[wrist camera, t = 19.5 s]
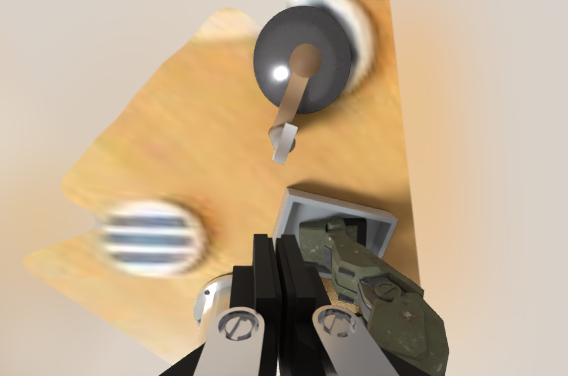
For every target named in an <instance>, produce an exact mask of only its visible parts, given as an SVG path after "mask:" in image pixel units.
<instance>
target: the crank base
mask: <svg viewBox="0 0 568 376" xmlns="http://www.w3.org/2000/svg"><path fill="white" fill-rule="evenodd" d="M306 43H307V44H312V45H314V46H315V47H316V48H317V49H318V50H319V52H320V54H321V57H322V63H321V67H320V69H319V71H318V72H317V73H316V74H315V75H314V76H312V77H309V79H308V82H307V85H306V87H305V90H304V93H303V95H302V98H301V101H300V103H299V106H298V109H297V111H296V114H308V113H313V112H316V111H319V110H321V109H323V108H325V107H326V106H328V105H329V104H331V103H332V102H333V101H334V100H335V99H336V98H337V97H338V96H339V94H340V93H341V91H342V90H343V88H344V86H345V84H346V82H347V79H348V77H349V73H350V67H351V51H350V46H349V42H348V39H347V37H346V35H345V33H344V31H343V29H342V28H341V26H340V25H339V23H338V22H337V21H336V20H335V19H334V18H333V17H332V16H330V15H329V14H327V13H326V12H324V11H322V10H320V9H318V8H314V7H309V6H296V7H291V8H288V9H285V10H283V11H281V12H279V13H278V14H277V15H275V16H274V17H273V18H272V19H271V20H270V21H268V23H267V24H266V25H265V26H264V28H263V29H262V31H261V33H260V35H259V37H258V39H257V42H256V45H255V50H254V61H253V64H254V72H255V77H256V80H257V83H258V85H259V87H260V89H261V91H262V92H263V94H264V95H265V96H266V97H267V99H268V100H269V101H270V102H272V103H273V104H274V105H276V106H277V107H280V104H281V101H282V98H283V96H284V93H285V90H286V87H287V84H288V81H289V79H290V76H291V73H292V72H291V70H290V67H289V58H290V55H291V53H292V52H293V51H294V50H295V48H296V47H298V46H299V45H301V44H306Z"/></svg>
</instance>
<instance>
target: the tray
mask: <svg viewBox="0 0 568 376" xmlns="http://www.w3.org/2000/svg"><path fill="white" fill-rule="evenodd" d="M331 216H339V217H340V218H365V219H366V221H367V237H366V248H367V249H368V250H370V251H371V252H372V253H373V254H375V255H376V256H378V257H379V258H380V259H382V257H383V255H384V252H385V250H386V248H387V246H388V243H389V241H390V239H391V236H392V234H393V232H394V229H395V227H396V225H397V222H398V219H397V218H396V217H395V216H393V215H392V214H391V213H390V212H389V211H385V210H381V209H377V208H373V207H369V206H364V205H360V204H356V203H352V202H347V201H343V200H339V199H335V198H330V197H326V196H322V195H318V194H314V193H309V192H305V191H301V190H297V189H292V188H288V187H286V190H285V194H284V197H283V200H282V204H281V207H280V211H279V214H278V217H277V221H276V224H275V228H274V231H273V234H272V238H273V244H274V250H275V244H276V238H281V234H294V235H295V237H296V239H297V242H298V245H299V224H300V223H305V222H315V221H319V220H323V219H327V220H329V221H330V218H331ZM326 227H327V225H326ZM299 248H300V247H299ZM304 263H305V266H316V268H317V270H318V273H319V275H320V277H322V278H328V279H332V272H331V271H330V270H329V269H328V268H327V267H326V266H323V265H318V262H311V261H304Z"/></svg>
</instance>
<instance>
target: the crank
mask: <svg viewBox="0 0 568 376" xmlns="http://www.w3.org/2000/svg"><path fill="white" fill-rule="evenodd" d="M321 63H322V57H321V54H320V52H319V50H318V49H317V48H316V47H315V46H314V45H312V44H307V43H306V44H301V45H299V46H298V47H296V48H295V50H294V51H293V52H292V53H291V55H290V58H289V67H290V70H291V72H292V73H291V76H290V79H289V81H288V84H287V87H286V90H285V93H284V96H283V98H282V101H281V104H280V107H279V110H278V113H277V115H276V118H275V121H274V124H273V126H272V127H271V128H270V130H269V138H270V140H271V142H272V145H273V147H274V149H275V152H274V155H273V158H272V159H273V161H274V162H277V163H280V164H283V165H284V164H285V161H286V158H287V156H288V153H289V152H291V151H292V150H293V149H294V147H295V138H294V137H295V135H296V132H297V129H298V127H297V126H294V125H292V122H293V120H294V117H295V114H296V111H297V109H298V106H299V103H300V101H301V98H302V95H303V93H304V90H305V87H306V85H307V82H308V79H309V77H312V76H314V75H315V74H316V73H317V72H318V71H319V69H320V67H321Z"/></svg>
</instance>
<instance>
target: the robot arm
mask: <svg viewBox="0 0 568 376" xmlns="http://www.w3.org/2000/svg"><path fill="white" fill-rule="evenodd" d="M194 317H195V321H196V323H197V325H198V326H199V327H200V328H199V332H198V337H197V341H196V346H195V350H194V351H192V352H191V353H190V354H188V355H187V356H185V357H184V358H183V359H181V360H180V361H178V362H177V363H176V364H174V365H173V366H171V367H170V368H169V369H167V370H166V371H164V372H163V373H162V374H160V375H159V376H276V372H277V360H278V361H279V370H280V376H431V375H430V374H428V373H426V372H424V371H422V370H421V369H419V368H417V367H415V366H414V365H412V364H410V363H408V362H407V361H405V360H403V359H401V358H399V357H398V356H396V355H394V354H392V353H391V352H389V351H387V350H385V349H384V348H382V347H380V346H378V345H377V344H376V342H375V341H374V339H373V338H372V337H371V335H370V334H369V332H368V331H367V329H366V328H365V327H364V325H363V324H362V322H361V321H360V320H359V318H358V317H357V316H356V315H355V314H354V313H353V312H351V311H350V310H348V309H346V308H343V307H341V306H335V305H331V302H330V300H329V297H328V295H327V292H326V290H325V287H324V285H323V283H322V280H321V278H320V275H319V273H318V270H317V268H316V266H305V263H304V260H303V257H302V254H301V251H300V248H299V245H298V242H297V239H296V237H295V235H294V234H281V238H276V244H275V250H274V244H273V238H268V236H267V234H254V240H253V262H252V266H233V275H225V276H222V277H218V278H216V279H214V280H212V281H210V282H209V283H208V284H206V285H205V286H204V287H203V288H202V289H201V290H200V292H199V294H198V295H197V298H196V301H195V304H194Z"/></svg>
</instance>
